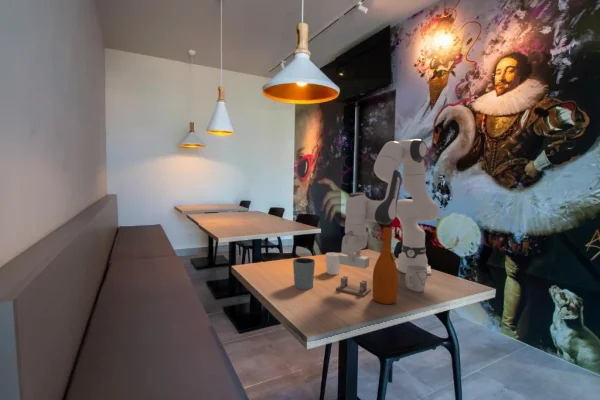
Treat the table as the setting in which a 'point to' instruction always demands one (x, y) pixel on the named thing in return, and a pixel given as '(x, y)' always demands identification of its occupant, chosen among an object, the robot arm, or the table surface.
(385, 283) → the wine bottle
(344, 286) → the peg stand
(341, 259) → the white rectangular block
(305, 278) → the dark grey cup
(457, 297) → the table surface
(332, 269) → the white cup
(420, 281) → the mug
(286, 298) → the table surface
